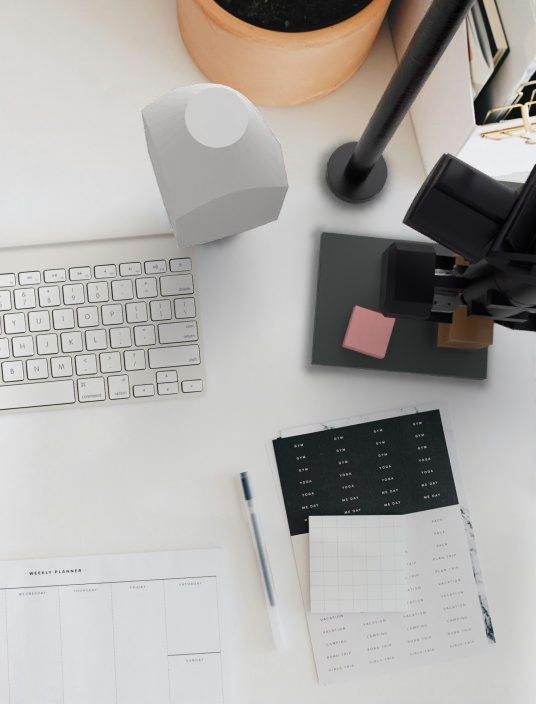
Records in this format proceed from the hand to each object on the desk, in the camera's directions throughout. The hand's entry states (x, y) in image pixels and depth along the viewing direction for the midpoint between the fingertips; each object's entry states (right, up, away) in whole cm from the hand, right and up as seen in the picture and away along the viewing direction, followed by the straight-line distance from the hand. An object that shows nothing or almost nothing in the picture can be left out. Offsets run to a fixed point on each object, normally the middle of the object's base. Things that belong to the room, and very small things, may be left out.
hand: (457, 308), depth 72 cm
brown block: (0, 0, +1) cm, 1 cm away
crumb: (-9, -2, 0) cm, 9 cm away
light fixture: (-24, +10, +2) cm, 26 cm away
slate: (-5, 0, +1) cm, 5 cm away
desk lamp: (-9, +14, +3) cm, 17 cm away
